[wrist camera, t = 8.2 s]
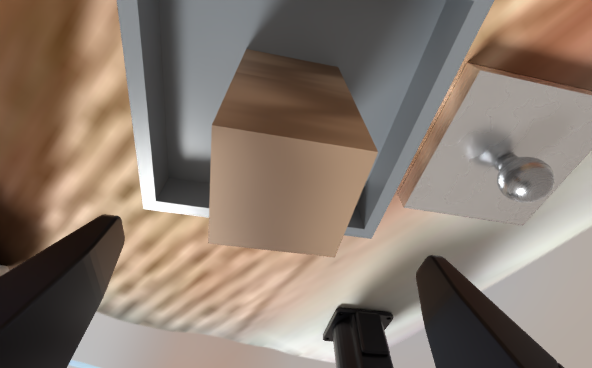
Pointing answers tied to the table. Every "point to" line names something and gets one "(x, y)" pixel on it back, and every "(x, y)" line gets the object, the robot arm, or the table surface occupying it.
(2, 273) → the cherub figurine
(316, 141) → the wooden block
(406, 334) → the table surface
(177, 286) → the table surface
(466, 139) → the stud plate
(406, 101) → the tray
